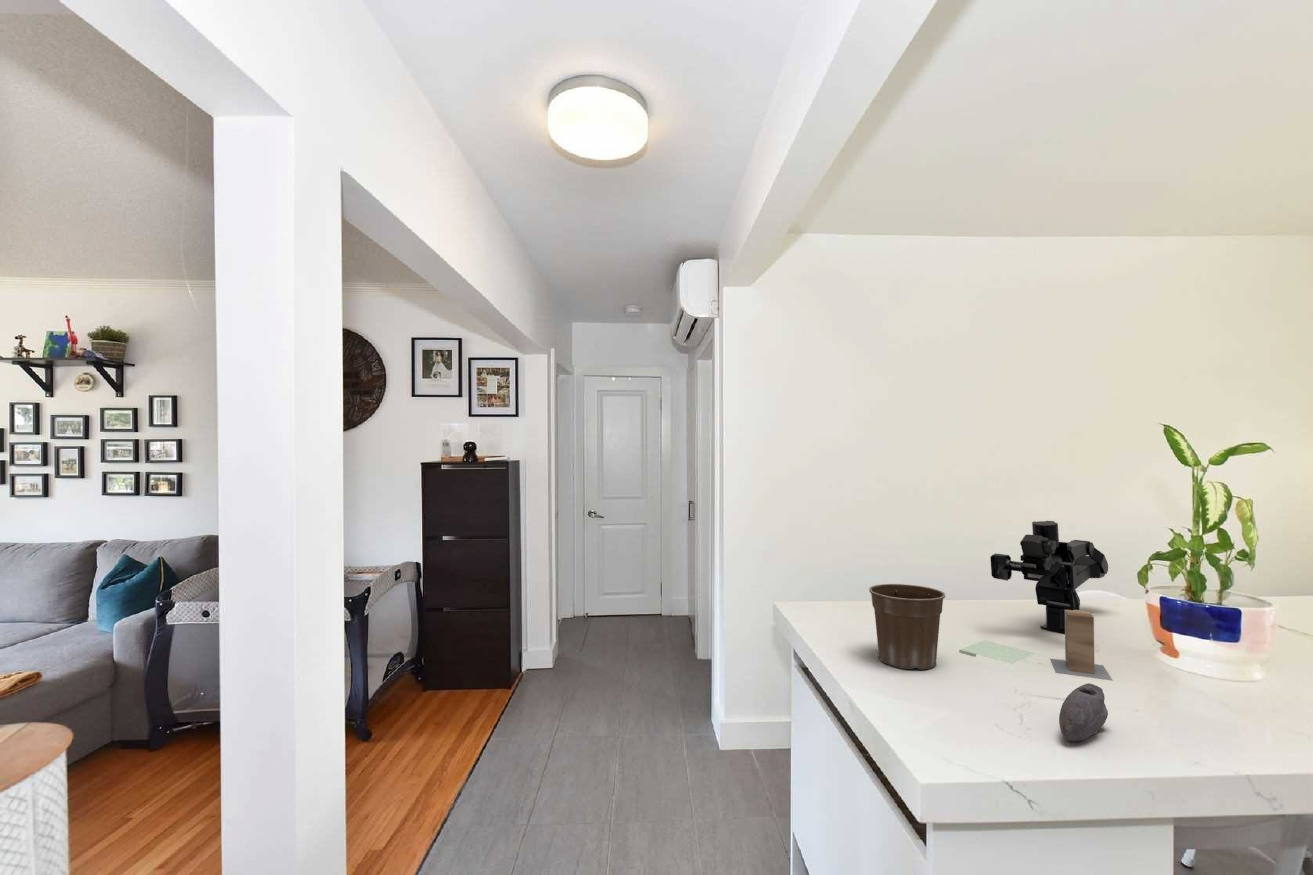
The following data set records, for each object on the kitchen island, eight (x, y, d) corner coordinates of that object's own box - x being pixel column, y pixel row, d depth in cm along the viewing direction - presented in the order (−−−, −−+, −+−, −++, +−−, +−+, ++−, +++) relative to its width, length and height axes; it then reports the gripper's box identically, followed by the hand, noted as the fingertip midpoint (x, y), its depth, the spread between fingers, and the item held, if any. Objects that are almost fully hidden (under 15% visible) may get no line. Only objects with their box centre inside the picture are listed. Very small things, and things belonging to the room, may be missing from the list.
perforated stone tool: (1082, 753, 98) (1081, 709, 98) (1045, 741, 102) (1045, 699, 102) (1114, 727, 107) (1113, 687, 107) (1079, 716, 111) (1079, 678, 111)
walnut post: (1065, 663, 136) (1064, 609, 136) (1090, 666, 134) (1089, 611, 134) (1068, 670, 132) (1067, 614, 132) (1094, 673, 130) (1093, 617, 130)
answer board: (984, 642, 153) (984, 640, 153) (1036, 655, 143) (1036, 653, 143) (959, 652, 146) (959, 649, 146) (1012, 666, 136) (1012, 663, 136)
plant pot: (883, 645, 151) (883, 579, 152) (954, 659, 141) (953, 589, 142) (859, 663, 139) (858, 592, 139) (934, 680, 129) (933, 603, 129)
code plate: (1049, 660, 140) (1049, 658, 140) (1103, 667, 135) (1103, 664, 135) (1055, 675, 131) (1055, 672, 131) (1113, 683, 126) (1113, 680, 126)
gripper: (1002, 529, 165) (976, 542, 155) (1083, 537, 150) (1059, 551, 140) (1005, 569, 165) (979, 585, 156) (1086, 581, 151) (1062, 599, 141)
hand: (1017, 579), depth 148 cm, fingers open, 9 cm apart
